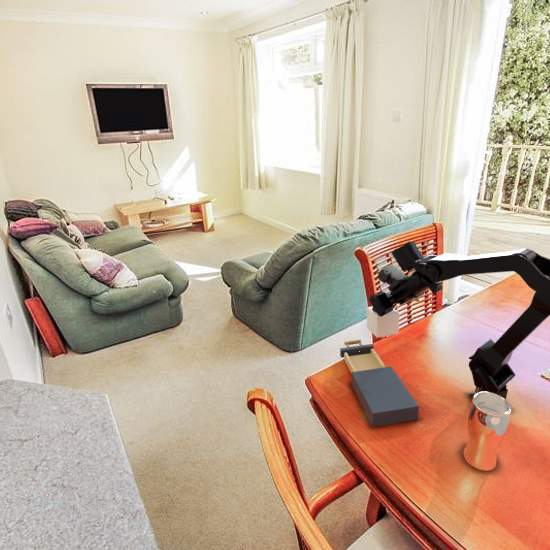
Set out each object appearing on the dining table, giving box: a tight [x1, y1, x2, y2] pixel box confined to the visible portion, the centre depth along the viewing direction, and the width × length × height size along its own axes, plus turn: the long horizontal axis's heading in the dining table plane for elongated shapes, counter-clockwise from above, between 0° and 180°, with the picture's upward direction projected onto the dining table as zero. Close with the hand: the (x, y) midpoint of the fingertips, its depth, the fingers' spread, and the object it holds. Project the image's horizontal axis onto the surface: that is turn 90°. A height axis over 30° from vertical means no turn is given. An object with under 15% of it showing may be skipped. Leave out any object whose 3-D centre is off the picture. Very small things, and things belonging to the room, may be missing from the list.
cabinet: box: [350, 366, 420, 428], centre depth 94 cm, size 15×11×4 cm
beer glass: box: [463, 392, 512, 472], centre depth 75 cm, size 7×7×15 cm
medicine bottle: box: [366, 292, 400, 339], centre depth 113 cm, size 7×7×12 cm
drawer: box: [339, 339, 386, 375], centre depth 108 cm, size 18×10×3 cm, turn 8°
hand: (380, 306), depth 113 cm, fingers closed on medicine bottle, 6 cm apart
